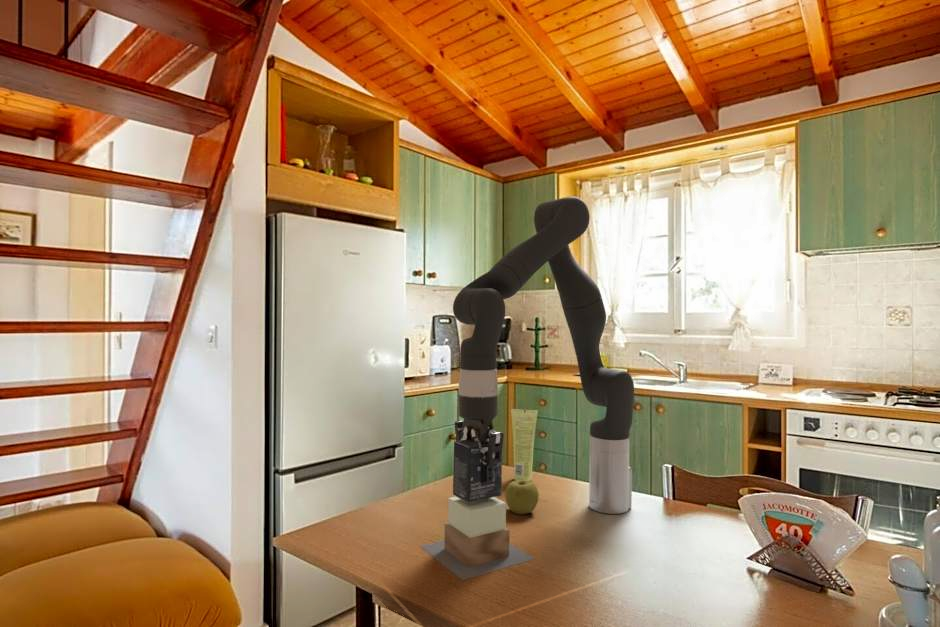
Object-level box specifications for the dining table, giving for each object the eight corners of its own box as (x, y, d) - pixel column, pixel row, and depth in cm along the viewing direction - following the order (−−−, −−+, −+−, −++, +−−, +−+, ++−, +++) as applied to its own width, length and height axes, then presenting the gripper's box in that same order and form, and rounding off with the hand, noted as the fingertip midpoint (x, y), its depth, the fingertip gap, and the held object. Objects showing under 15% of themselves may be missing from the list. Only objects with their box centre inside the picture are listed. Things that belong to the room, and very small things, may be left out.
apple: (498, 513, 127) (498, 482, 127) (518, 504, 133) (518, 475, 133) (525, 522, 122) (525, 489, 122) (545, 512, 128) (545, 481, 128)
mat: (487, 531, 117) (487, 529, 117) (535, 560, 103) (535, 558, 103) (420, 548, 108) (420, 546, 108) (462, 582, 95) (462, 580, 95)
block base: (482, 539, 112) (483, 514, 112) (509, 555, 104) (509, 529, 104) (444, 548, 107) (444, 523, 107) (469, 567, 99) (469, 539, 99)
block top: (482, 515, 111) (482, 491, 111) (505, 529, 104) (506, 502, 104) (448, 523, 107) (448, 497, 107) (470, 538, 100) (470, 510, 100)
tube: (525, 475, 157) (526, 407, 157) (537, 480, 153) (538, 409, 153) (509, 478, 154) (510, 409, 154) (521, 483, 150) (522, 411, 150)
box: (468, 504, 101) (468, 446, 101) (452, 495, 106) (452, 440, 106) (502, 496, 105) (502, 441, 105) (485, 488, 110) (486, 435, 110)
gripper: (516, 395, 101) (515, 487, 102) (474, 386, 114) (473, 468, 114) (482, 399, 97) (481, 494, 98) (442, 389, 110) (442, 473, 110)
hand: (477, 479), depth 106 cm, fingers closed on box, 5 cm apart
